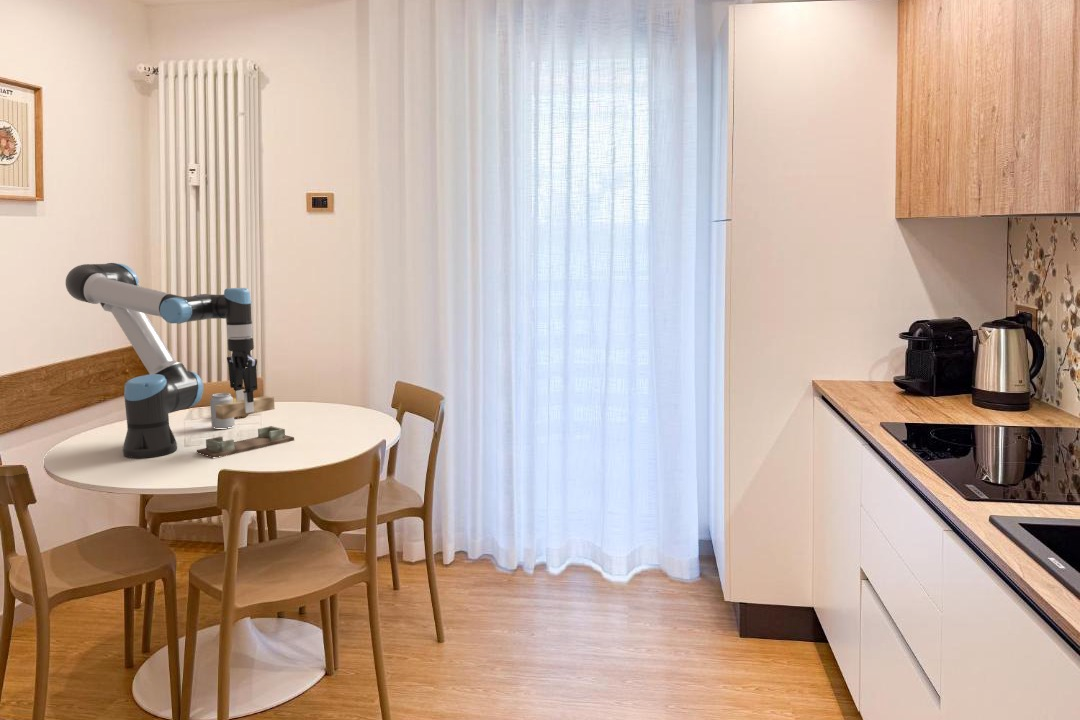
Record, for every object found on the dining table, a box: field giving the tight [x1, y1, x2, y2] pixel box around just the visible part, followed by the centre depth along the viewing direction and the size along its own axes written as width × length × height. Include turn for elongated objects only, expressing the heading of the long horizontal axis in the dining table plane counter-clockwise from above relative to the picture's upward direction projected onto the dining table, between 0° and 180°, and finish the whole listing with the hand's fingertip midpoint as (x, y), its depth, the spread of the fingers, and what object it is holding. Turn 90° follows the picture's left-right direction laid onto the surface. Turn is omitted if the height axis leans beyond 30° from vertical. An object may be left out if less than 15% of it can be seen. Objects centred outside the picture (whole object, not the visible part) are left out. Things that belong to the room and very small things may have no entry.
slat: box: [215, 395, 276, 419], centre depth 255 cm, size 18×4×4 cm, turn 141°
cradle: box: [196, 425, 295, 458], centre depth 257 cm, size 28×10×4 cm, turn 141°
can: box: [209, 392, 235, 428], centre depth 283 cm, size 8×8×12 cm
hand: (245, 411), depth 255 cm, fingers closed on slat, 4 cm apart
